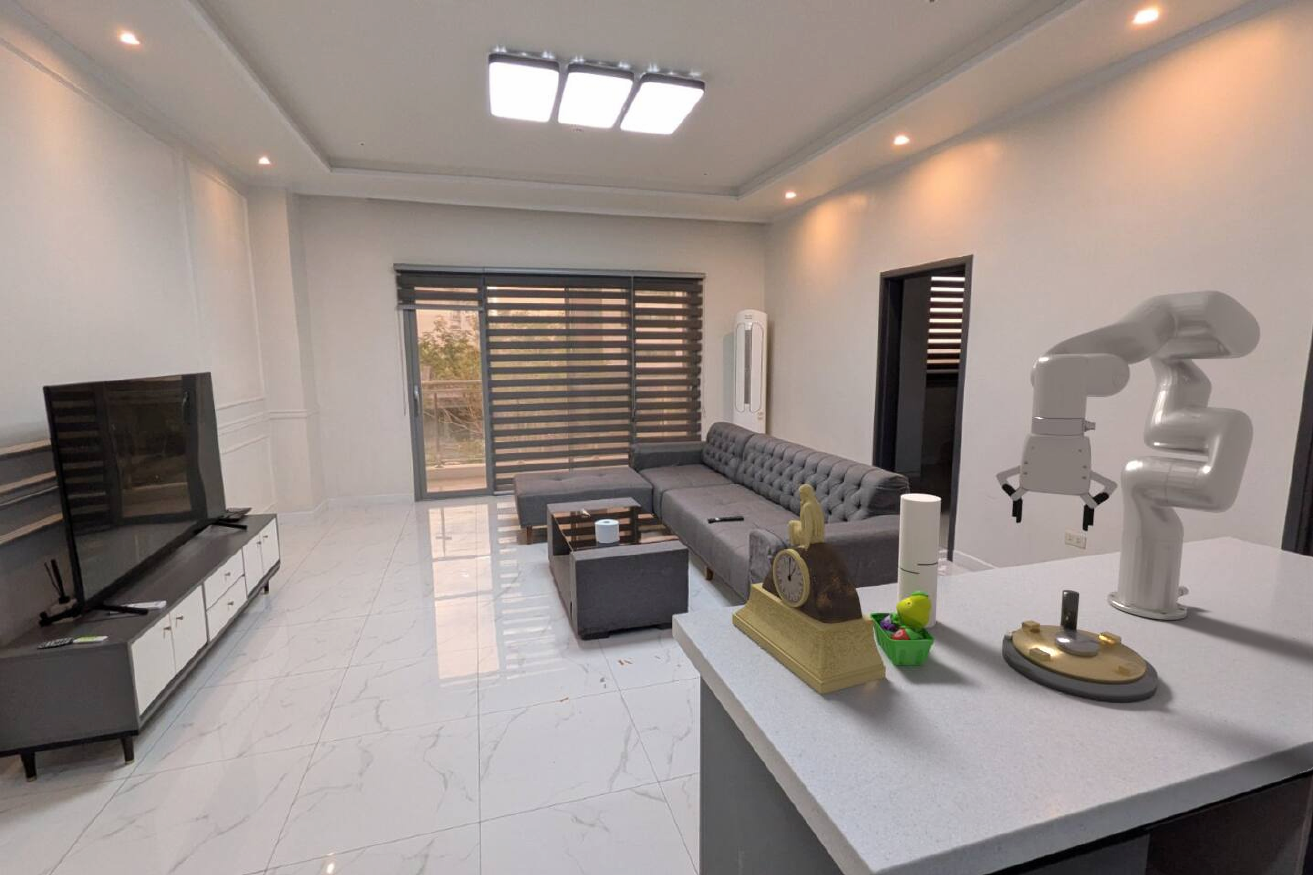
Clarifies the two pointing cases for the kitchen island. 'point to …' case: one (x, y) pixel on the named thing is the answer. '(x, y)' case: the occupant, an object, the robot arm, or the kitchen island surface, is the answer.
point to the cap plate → (1078, 687)
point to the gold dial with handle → (1078, 649)
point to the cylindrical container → (919, 548)
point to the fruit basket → (905, 630)
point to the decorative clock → (812, 610)
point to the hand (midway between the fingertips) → (1051, 525)
